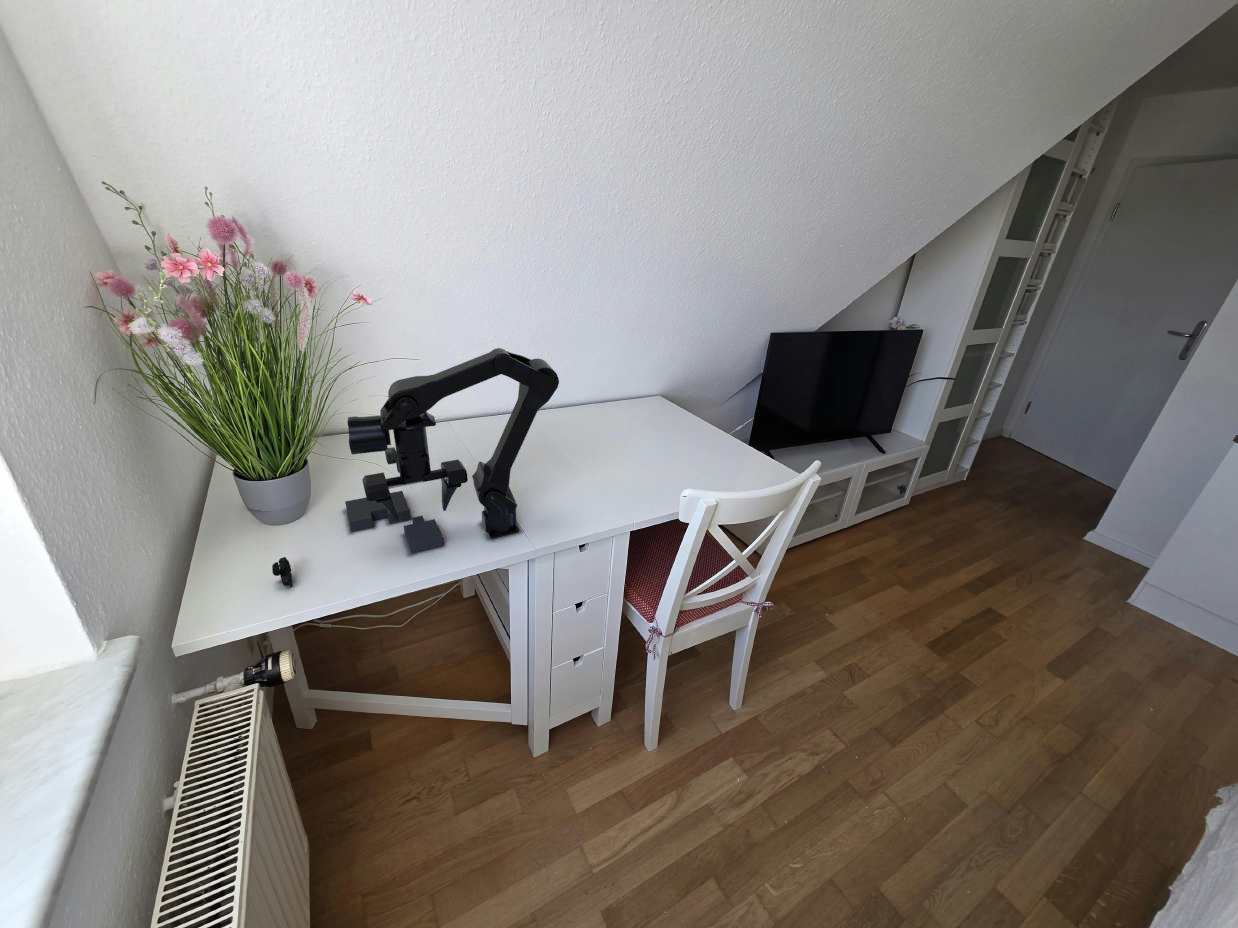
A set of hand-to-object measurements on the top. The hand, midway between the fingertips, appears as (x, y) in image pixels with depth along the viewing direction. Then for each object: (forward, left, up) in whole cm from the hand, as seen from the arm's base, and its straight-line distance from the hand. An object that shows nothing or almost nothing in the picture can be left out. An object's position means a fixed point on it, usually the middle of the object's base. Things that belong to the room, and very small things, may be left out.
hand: (421, 514), depth 105 cm
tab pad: (0, -1, -6) cm, 7 cm away
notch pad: (+7, -14, -7) cm, 17 cm away
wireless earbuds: (+25, +3, -7) cm, 26 cm away
